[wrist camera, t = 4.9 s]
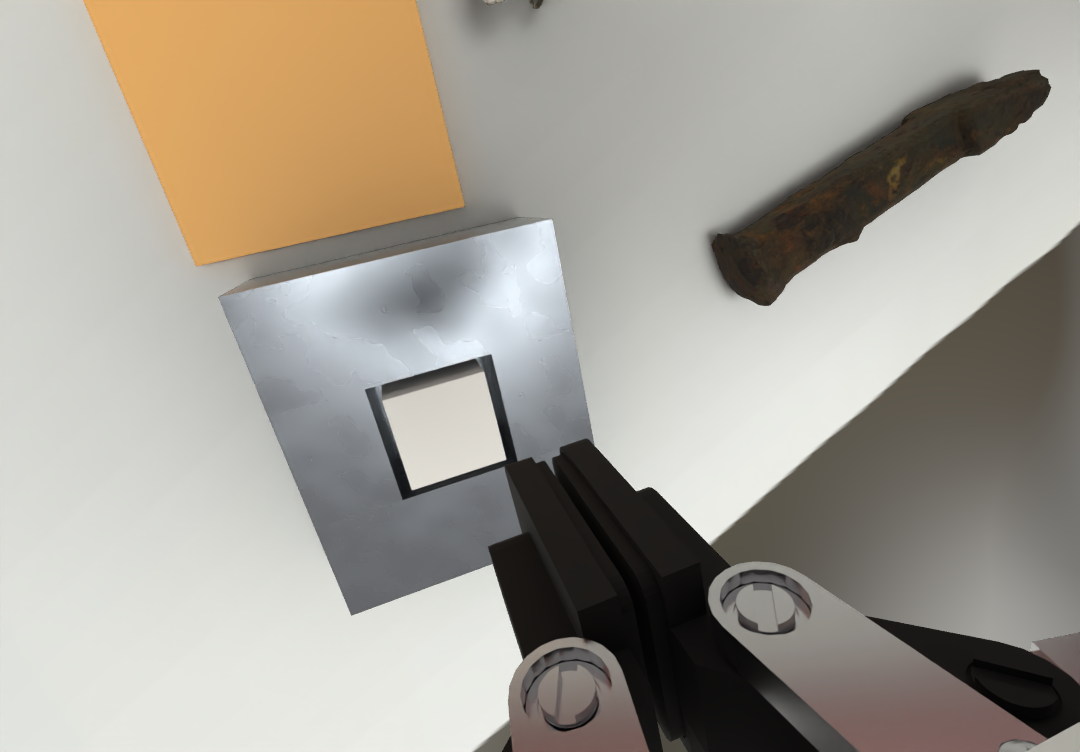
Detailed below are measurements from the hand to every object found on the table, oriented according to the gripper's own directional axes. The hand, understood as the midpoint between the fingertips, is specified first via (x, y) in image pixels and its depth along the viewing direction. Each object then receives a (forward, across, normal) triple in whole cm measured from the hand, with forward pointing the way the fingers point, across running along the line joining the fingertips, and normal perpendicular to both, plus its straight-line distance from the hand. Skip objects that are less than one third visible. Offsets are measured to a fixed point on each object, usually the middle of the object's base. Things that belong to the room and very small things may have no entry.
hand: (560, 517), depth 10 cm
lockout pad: (+17, +3, -12) cm, 21 cm away
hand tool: (+17, -23, -3) cm, 29 cm away
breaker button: (+15, +2, +3) cm, 16 cm away
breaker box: (+17, +2, +2) cm, 17 cm away
